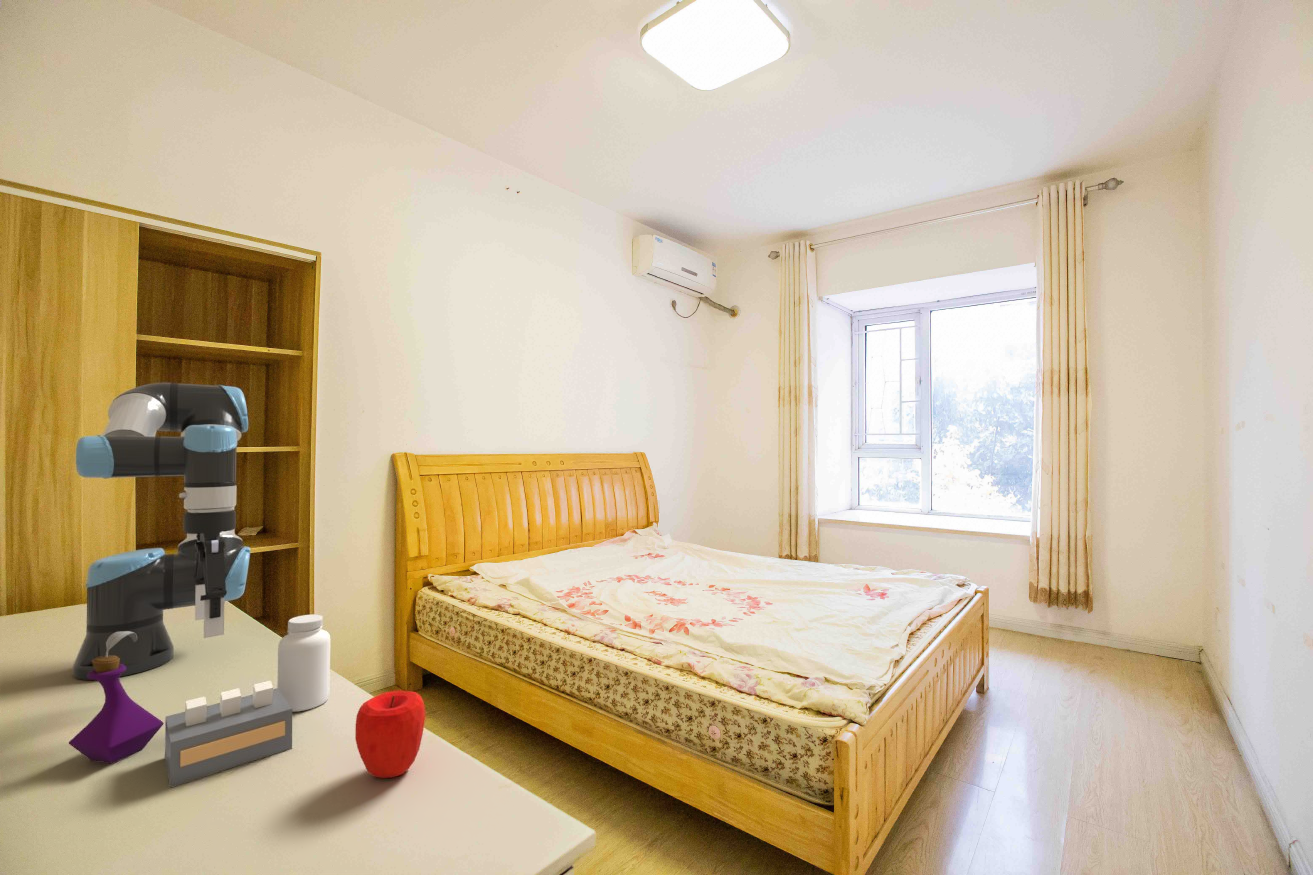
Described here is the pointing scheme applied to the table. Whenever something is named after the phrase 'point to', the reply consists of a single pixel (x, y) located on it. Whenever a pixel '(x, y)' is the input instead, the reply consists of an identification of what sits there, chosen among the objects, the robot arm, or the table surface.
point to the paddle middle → (230, 702)
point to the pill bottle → (304, 663)
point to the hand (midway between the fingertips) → (209, 626)
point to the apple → (390, 732)
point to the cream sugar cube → (262, 694)
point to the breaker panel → (226, 738)
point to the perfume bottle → (115, 714)
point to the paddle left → (195, 711)
